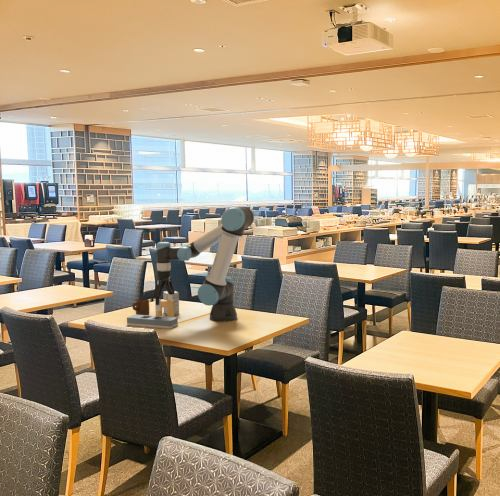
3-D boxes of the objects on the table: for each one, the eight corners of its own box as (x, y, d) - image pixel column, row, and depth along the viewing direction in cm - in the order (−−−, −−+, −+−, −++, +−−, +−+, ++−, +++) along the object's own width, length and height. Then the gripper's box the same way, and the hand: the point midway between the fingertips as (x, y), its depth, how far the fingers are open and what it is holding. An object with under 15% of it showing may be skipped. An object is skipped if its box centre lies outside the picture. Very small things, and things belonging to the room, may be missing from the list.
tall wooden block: (174, 319, 315) (173, 300, 314) (171, 320, 312) (171, 301, 311) (158, 318, 318) (157, 299, 317) (155, 319, 315) (155, 300, 314)
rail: (177, 325, 301) (177, 317, 301) (170, 328, 294) (170, 320, 293) (135, 321, 310) (134, 314, 310) (127, 324, 303) (126, 317, 302)
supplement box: (163, 312, 332) (162, 291, 331) (175, 311, 335) (175, 290, 334) (167, 315, 325) (166, 293, 324) (179, 313, 328) (179, 292, 327)
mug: (138, 319, 316) (138, 302, 315) (127, 318, 319) (127, 301, 318) (152, 315, 326) (151, 299, 325) (141, 313, 330) (141, 297, 329)
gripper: (168, 266, 325) (169, 303, 327) (146, 273, 302) (146, 312, 304) (180, 267, 322) (180, 304, 325) (158, 273, 299) (159, 313, 301)
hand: (164, 308), depth 314 cm, fingers open, 13 cm apart
